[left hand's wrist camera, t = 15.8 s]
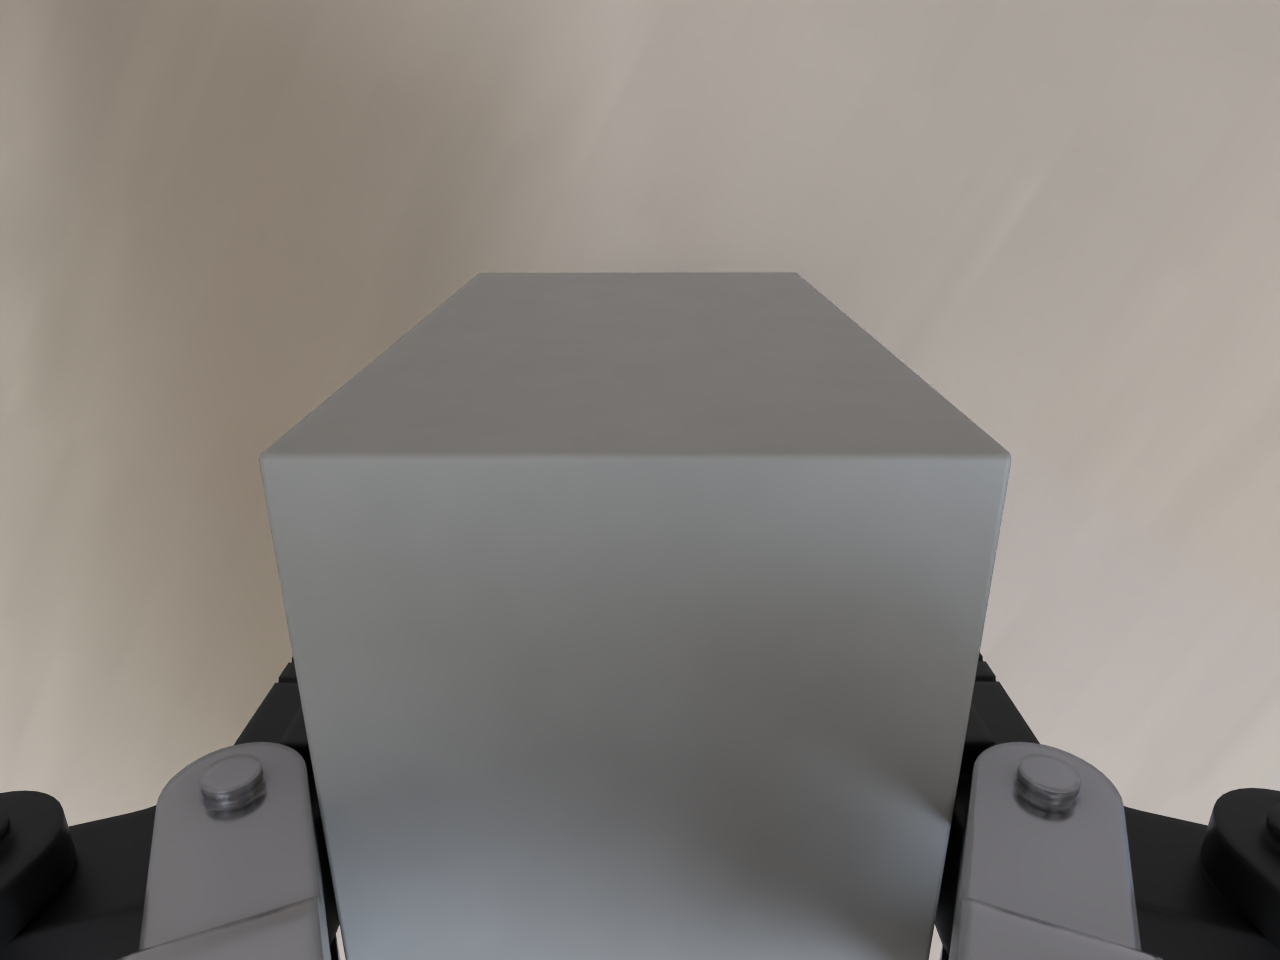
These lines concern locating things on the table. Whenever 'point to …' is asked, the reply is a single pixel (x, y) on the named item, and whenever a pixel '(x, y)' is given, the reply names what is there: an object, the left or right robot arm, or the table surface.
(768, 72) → the table surface
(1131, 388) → the table surface
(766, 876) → the bar
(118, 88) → the table surface
